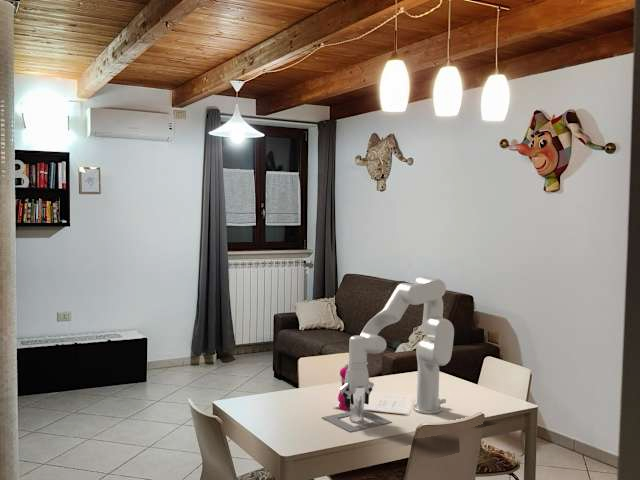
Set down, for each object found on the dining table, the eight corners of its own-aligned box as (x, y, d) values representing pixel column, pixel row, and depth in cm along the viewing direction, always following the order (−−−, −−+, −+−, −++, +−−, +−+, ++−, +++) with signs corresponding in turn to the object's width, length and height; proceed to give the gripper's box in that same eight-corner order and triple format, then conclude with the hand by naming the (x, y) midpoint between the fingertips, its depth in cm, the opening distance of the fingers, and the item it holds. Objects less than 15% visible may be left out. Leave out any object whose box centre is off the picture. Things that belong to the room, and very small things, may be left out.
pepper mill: (352, 411, 284) (353, 366, 283) (336, 409, 286) (337, 365, 285) (354, 406, 291) (355, 362, 290) (339, 404, 293) (340, 361, 292)
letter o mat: (362, 409, 286) (362, 408, 286) (391, 422, 270) (391, 421, 270) (321, 418, 274) (321, 417, 274) (349, 432, 258) (349, 431, 258)
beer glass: (359, 424, 267) (360, 388, 266) (345, 421, 271) (346, 386, 270) (367, 419, 273) (368, 385, 272) (353, 416, 277) (354, 382, 276)
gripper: (368, 361, 279) (367, 400, 280) (335, 365, 269) (334, 406, 270) (379, 364, 272) (378, 404, 273) (346, 369, 263) (345, 411, 264)
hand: (356, 405), depth 272 cm, fingers open, 9 cm apart
